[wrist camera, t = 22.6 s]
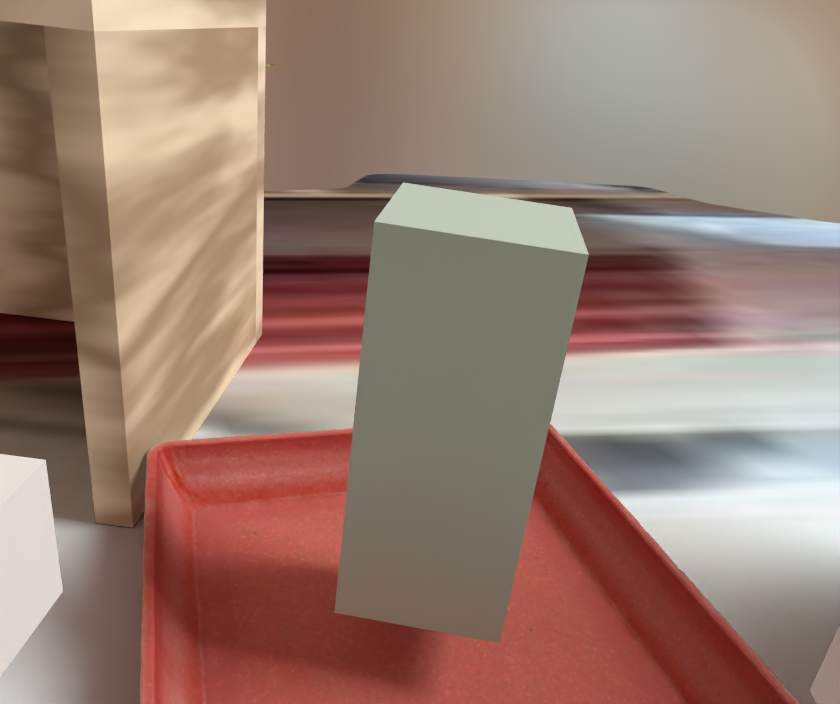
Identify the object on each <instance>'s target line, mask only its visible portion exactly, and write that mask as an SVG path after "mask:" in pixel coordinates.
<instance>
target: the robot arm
mask: <svg viewBox="0 0 840 704" xmlns="http://www.w3.org/2000/svg"><path fill="white" fill-rule="evenodd" d="M62 592H63V586H62V579H61V571H60V564H59V556H58V549H57V541H56V534H55V526H54V518H53V511H52V503H51V496H50V488H49V481H48V473H47V466H46V460H44V459H36V458H28V457H20V456H13V455H5V454H0V677H1V676H2V675H3V673H4V672H5V670H6V669H7V668H8V666H9V665H10V664H11V662H12V661H13V659H14V658H15V657H16V655H17V654H18V653H19V651H20V650H21V648H22V647H23V646H24V644H25V643H26V642H27V640H28V639H29V637H30V636H31V635H32V633H33V632H34V631H35V629H36V628H37V626H38V625H39V624H40V622H41V621H42V620H43V618H44V617H45V615H46V614H47V613H48V611H49V610H50V609H51V607H52V606H53V604H54V603H55V602H56V600H57V599H58V598H59V596H60V595H61V593H62ZM810 692H811V694H812V696H813V698H814V700H815V702H816V704H840V625H839V627H838V630H837V632H836V634H835V636H834V638H833V640H832V643H831V645H830V647H829V649H828V651H827V653H826V656H825V658H824V660H823V662H822V664H821V666H820V669H819V671H818V673H817V675H816V677H815V679H814V682H813V684H812V686H811V688H810Z"/></svg>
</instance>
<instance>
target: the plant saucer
mask: <svg viewBox="0 0 840 704" xmlns="http://www.w3.org/2000/svg"><path fill="white" fill-rule="evenodd" d="M352 435H353V428H352V429H343V430H322V431H311V432H294V433H280V434H265V435H251V436H235V437H222V438H209V439H194V440H178V441H168V442H164V443H160V444H158V445H156V446H154V447H152V448H151V449H150V450H149V451H148V453H147V458H146V484H145V510H144V538H143V557H142V575H143V584H142V596H141V599H142V610H141V615H142V616H141V643H140V701H139V704H800V703H799V702H798V701H797V699H796V698H795V697H794V696H793V695H792V694H791V693H790V692H789V691H788V690H787V689H786V687H785V686H784V685H783V684H782V683H781V682H780V681H779V680H778V679H777V678H776V676H775V675H774V674H773V673H772V671H771V670H770V669H769V668H768V667H767V666H766V665H765V664H764V662H763V661H762V660H761V659H760V658H759V656H758V655H757V654H756V653H755V652H754V651H753V650H752V649H751V648H750V647H749V646H748V645H747V644H746V642H745V641H744V640H743V639H742V638H741V637H740V636H739V635H738V634H737V632H736V631H735V630H734V629H733V628H732V627H731V626H730V624H729V623H728V622H727V621H726V620H725V619H724V617H723V616H722V615H721V614H720V613H719V612H718V611H717V610H716V609H715V608H714V607H713V606H712V605H711V604H710V602H709V601H708V600H707V599H706V598H705V597H704V596H703V594H702V593H701V592H700V591H699V590H698V588H697V587H696V586H695V585H694V584H693V583H692V582H691V581H690V580H689V578H688V577H687V576H686V575H685V574H684V573H683V572H682V571H681V570H680V569H679V568H678V567H677V566H676V564H675V563H674V562H673V561H672V560H671V559H670V557H669V556H668V555H667V554H666V553H665V552H664V551H663V549H662V548H661V547H660V546H659V544H658V543H657V542H656V541H655V540H654V539H653V538H652V537H651V536H650V535H649V534H648V533H647V532H646V531H645V530H644V529H643V527H642V526H641V525H640V523H639V522H638V521H637V520H636V519H635V518H634V516H633V515H632V514H631V513H630V512H629V511H628V510H627V509H626V508H625V507H624V506H623V505H622V504H621V502H620V501H619V500H618V499H617V498H616V497H615V496H614V495H613V494H612V492H611V491H610V490H609V489H608V488H607V487H606V486H605V485H604V484H603V482H602V481H601V480H600V479H599V478H598V477H597V475H596V474H595V473H594V472H593V471H592V470H591V469H590V468H589V467H588V466H587V465H586V463H585V462H584V461H583V460H582V459H581V458H580V456H579V455H578V454H577V453H576V452H575V451H574V450H573V449H572V448H571V447H570V445H569V444H568V443H567V441H566V440H565V439H564V438H563V437H562V436H561V435H560V434H559V433H558V432H557V430H556V429H555V428H554V427H553V426H552V425H551V424H550V425H549V429H548V434H547V438H546V443H545V447H544V451H543V456H542V460H541V464H540V469H539V473H538V477H537V482H536V486H535V490H534V495H533V499H532V503H531V508H530V512H529V517H528V521H527V525H526V530H525V534H524V538H523V543H522V547H521V551H520V556H519V560H518V564H517V569H516V573H515V577H514V582H513V586H512V591H511V595H510V599H509V604H508V608H507V612H506V617H505V621H504V625H503V630H502V634H501V638H500V643H497V642H491V641H486V640H480V639H475V638H470V637H464V636H459V635H453V634H448V633H442V632H437V631H432V630H426V629H421V628H415V627H410V626H404V625H399V624H393V623H388V622H383V621H377V620H372V619H366V618H361V617H355V616H350V615H345V614H339V613H334V611H335V601H336V591H337V581H338V572H339V562H340V552H341V542H342V533H343V523H344V513H345V503H346V494H347V484H348V474H349V464H350V455H351V445H352Z"/></svg>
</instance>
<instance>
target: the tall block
mask: <svg viewBox="0 0 840 704" xmlns="http://www.w3.org/2000/svg"><path fill="white" fill-rule="evenodd" d="M588 255H589V254H588V251H587V249H586V246H585V243H584V240H583V238H582V235H581V232H580V229H579V227H578V224H577V221H576V218H575V216H574V213H573V210H572V208H568V207H561V206H555V205H548V204H541V203H535V202H528V201H521V200H515V199H508V198H502V197H495V196H488V195H482V194H475V193H468V192H462V191H455V190H449V189H442V188H435V187H429V186H422V185H415V184H409V183H403V184H402V185H401V186H400V188H399V189H398V190H397V192H396V193H395V195H394V196H393V197H392V199H391V200H390V201H389V203H388V204H387V205H386V207H385V208H384V209H383V211H382V212H381V213H380V215H379V216H378V217H377V219H376V220H375V221H374V231H373V240H372V250H371V260H370V270H369V279H368V289H367V299H366V308H365V318H364V328H363V338H362V347H361V357H360V367H359V377H358V386H357V396H356V406H355V416H354V425H353V435H352V445H351V455H350V464H349V474H348V484H347V494H346V503H345V513H344V523H343V533H342V542H341V552H340V562H339V572H338V581H337V591H336V601H335V611H334V613H339V614H345V615H350V616H355V617H361V618H366V619H372V620H377V621H383V622H388V623H393V624H399V625H404V626H410V627H415V628H421V629H426V630H432V631H437V632H442V633H448V634H453V635H459V636H464V637H470V638H475V639H480V640H486V641H491V642H497V643H500V638H501V634H502V630H503V625H504V621H505V617H506V612H507V608H508V604H509V599H510V595H511V591H512V586H513V582H514V577H515V573H516V569H517V564H518V560H519V556H520V551H521V547H522V543H523V538H524V534H525V530H526V525H527V521H528V517H529V512H530V508H531V503H532V499H533V495H534V490H535V486H536V482H537V477H538V473H539V469H540V464H541V460H542V456H543V451H544V447H545V443H546V438H547V434H548V429H549V425H550V421H551V416H552V412H553V408H554V403H555V399H556V395H557V390H558V386H559V382H560V377H561V373H562V369H563V364H564V360H565V355H566V351H567V347H568V342H569V338H570V334H571V329H572V325H573V321H574V316H575V312H576V308H577V303H578V299H579V295H580V290H581V286H582V281H583V277H584V273H585V268H586V264H587V260H588Z"/></svg>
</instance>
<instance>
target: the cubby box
mask: <svg viewBox="0 0 840 704" xmlns="http://www.w3.org/2000/svg"><path fill="white" fill-rule="evenodd" d="M265 45H266V0H0V313H5V314H13V315H22V316H30V317H38V318H47V319H55V320H63V321H72V322H74V323H75V332H76V342H77V351H78V361H79V370H80V380H81V389H82V399H83V408H84V418H85V427H86V437H87V446H88V456H89V465H90V475H91V484H92V494H93V503H94V512H95V522H96V523H100V524H108V525H116V526H124V527H132V528H133V527H134V526H135V524H136V523H137V521H138V520H139V518H140V517H141V515H142V514H143V512H144V510H145V484H146V458H147V453H148V451H149V450H150V449H151V448H152V447H154V446H156V445H158V444H160V443H164V442H168V441H178V440H192V438H193V437H194V435H195V434H196V432H197V431H198V429H199V428H200V426H201V425H202V423H203V422H204V420H205V419H206V417H207V416H208V414H209V413H210V411H211V410H212V408H213V407H214V405H215V404H216V402H217V401H218V399H219V398H220V396H221V395H222V393H223V392H224V390H225V389H226V387H227V386H228V384H229V383H230V381H231V380H232V378H233V377H234V375H235V374H236V372H237V371H238V369H239V368H240V366H241V365H242V363H243V362H244V360H245V359H246V357H247V356H248V354H249V353H250V351H251V350H252V348H253V347H254V345H255V344H256V342H257V341H258V339H259V338H260V336H261V335H262V291H263V209H264V128H265V125H264V124H265Z"/></svg>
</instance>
